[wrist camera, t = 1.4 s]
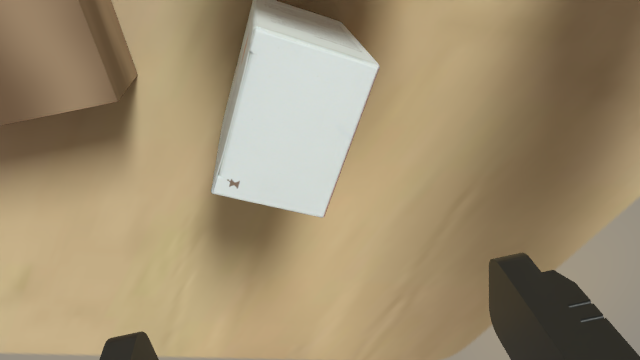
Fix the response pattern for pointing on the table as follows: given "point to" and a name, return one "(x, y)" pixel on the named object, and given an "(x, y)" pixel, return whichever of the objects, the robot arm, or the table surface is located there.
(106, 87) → the walnut block
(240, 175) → the small box
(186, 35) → the table surface
